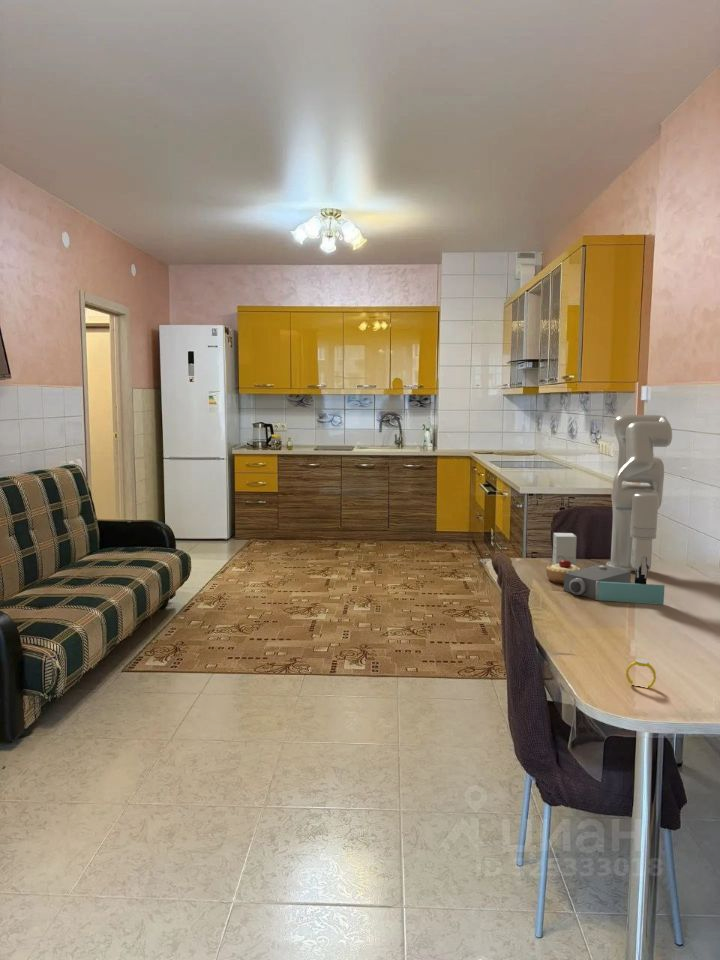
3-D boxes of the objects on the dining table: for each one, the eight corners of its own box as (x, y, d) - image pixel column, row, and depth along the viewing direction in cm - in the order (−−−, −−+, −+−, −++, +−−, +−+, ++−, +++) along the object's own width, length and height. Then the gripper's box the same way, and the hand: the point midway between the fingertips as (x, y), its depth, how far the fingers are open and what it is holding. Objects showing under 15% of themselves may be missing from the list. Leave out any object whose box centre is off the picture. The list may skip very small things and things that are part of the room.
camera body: (598, 581, 241) (599, 562, 240) (630, 588, 232) (631, 569, 231) (559, 592, 227) (559, 571, 226) (591, 600, 218) (592, 579, 217)
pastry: (568, 588, 233) (569, 563, 232) (539, 580, 242) (540, 556, 241) (588, 581, 241) (589, 556, 240) (558, 574, 250) (559, 550, 249)
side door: (662, 603, 215) (663, 585, 214) (663, 604, 213) (664, 586, 213) (594, 599, 219) (595, 581, 218) (595, 600, 217) (596, 582, 217)
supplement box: (571, 565, 265) (573, 532, 263) (575, 569, 257) (577, 536, 256) (551, 564, 265) (553, 532, 264) (555, 569, 258) (556, 536, 257)
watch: (654, 687, 152) (658, 662, 151) (653, 692, 150) (657, 666, 149) (625, 680, 155) (629, 655, 154) (624, 685, 152) (627, 659, 151)
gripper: (627, 527, 223) (624, 582, 225) (633, 536, 209) (630, 595, 211) (652, 528, 221) (649, 584, 224) (660, 537, 207) (656, 597, 209)
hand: (640, 589), depth 217 cm, fingers closed
